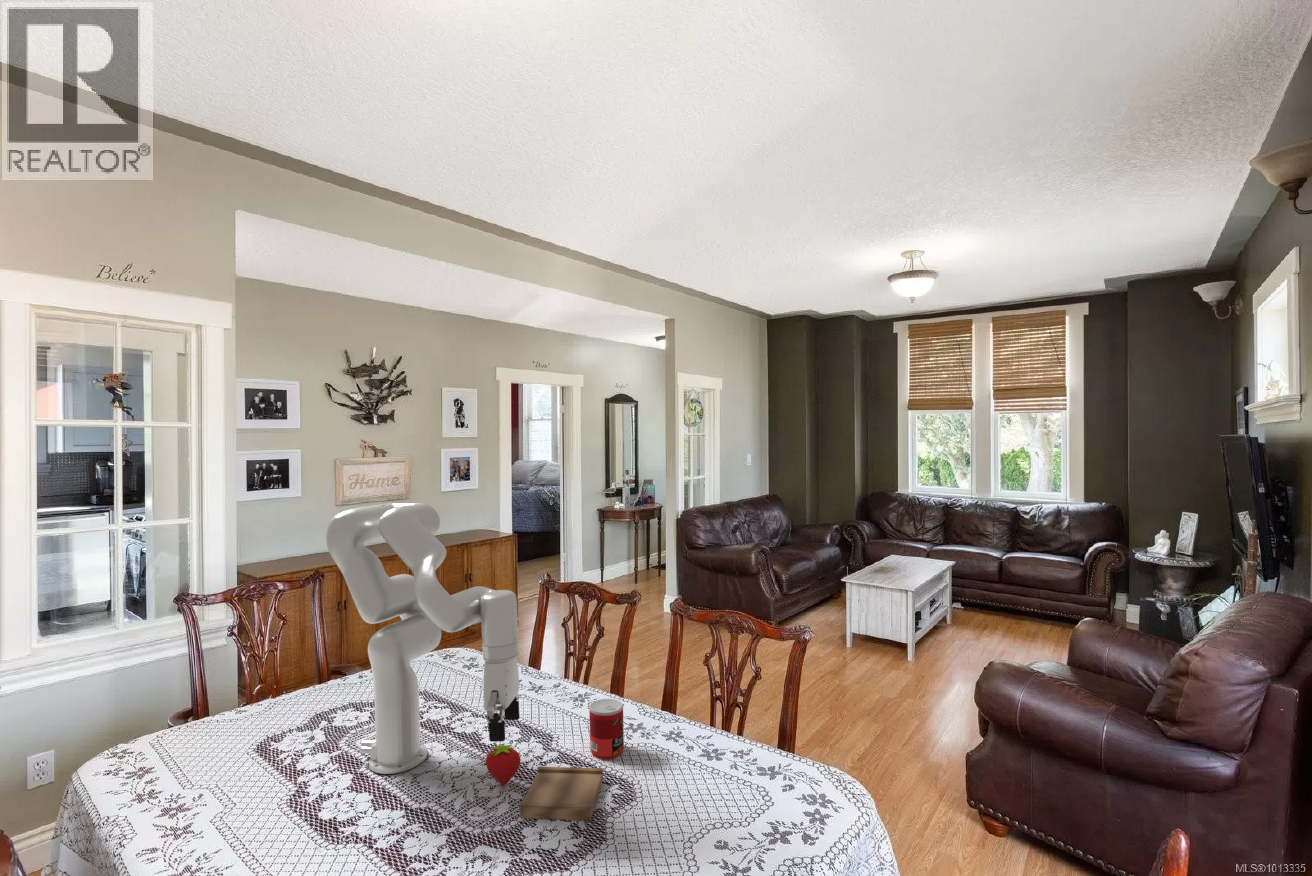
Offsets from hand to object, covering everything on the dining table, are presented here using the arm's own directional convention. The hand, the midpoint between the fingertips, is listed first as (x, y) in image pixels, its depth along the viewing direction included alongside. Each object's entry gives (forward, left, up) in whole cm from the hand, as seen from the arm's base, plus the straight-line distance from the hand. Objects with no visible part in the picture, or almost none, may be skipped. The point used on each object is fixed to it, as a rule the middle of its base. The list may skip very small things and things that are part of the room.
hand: (505, 729), depth 135 cm
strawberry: (-1, 0, -12) cm, 12 cm away
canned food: (+19, +15, -12) cm, 27 cm away
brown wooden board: (+13, -4, -12) cm, 18 cm away
